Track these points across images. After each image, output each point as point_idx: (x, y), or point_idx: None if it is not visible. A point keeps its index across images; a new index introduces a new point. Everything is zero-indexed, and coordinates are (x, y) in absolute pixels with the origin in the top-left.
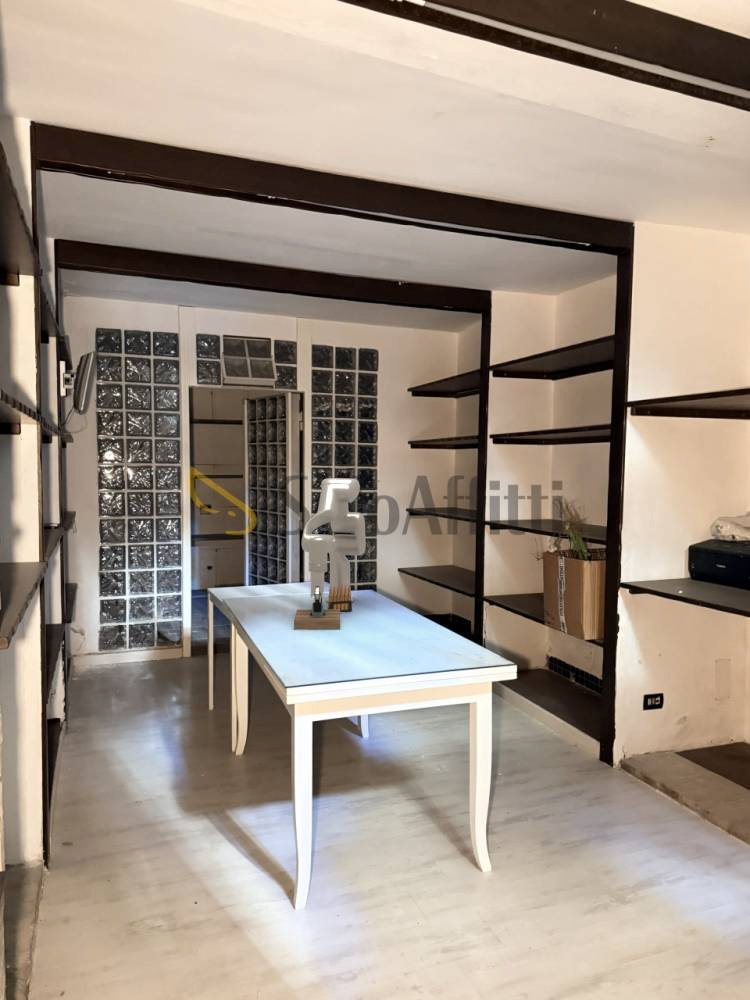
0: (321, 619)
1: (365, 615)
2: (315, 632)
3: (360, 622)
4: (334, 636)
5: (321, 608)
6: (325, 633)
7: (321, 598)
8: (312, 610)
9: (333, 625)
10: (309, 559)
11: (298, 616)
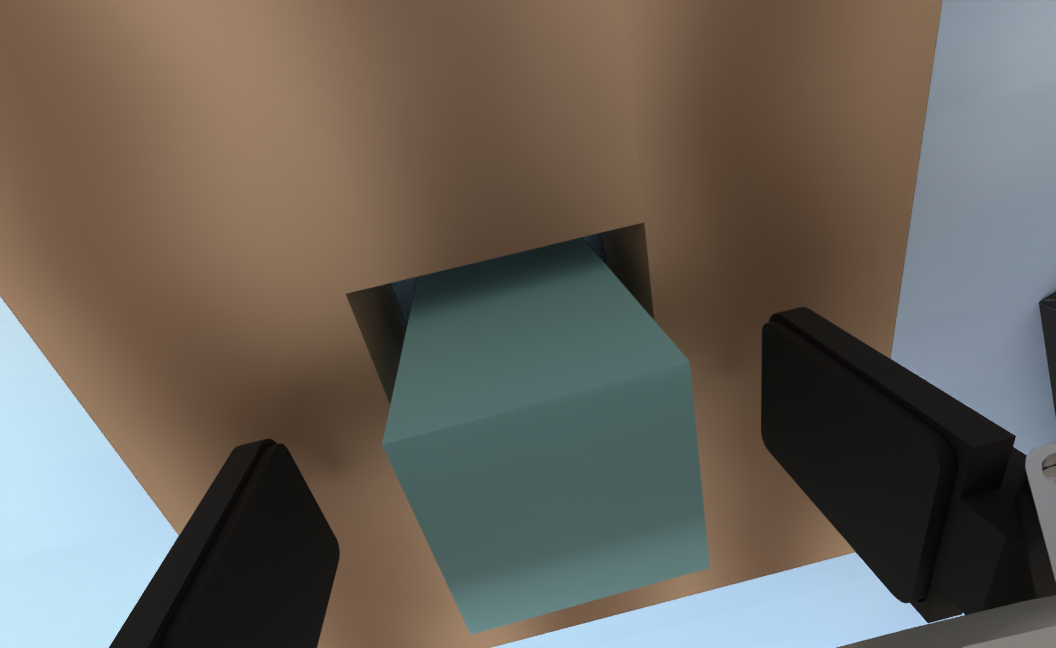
0: (178, 531)
1: (894, 601)
2: (55, 409)
3: (641, 636)
4: (12, 617)
5: (315, 618)
6: (81, 516)
7: (896, 589)
8: (396, 377)
9: None
10: None
11: (194, 53)
